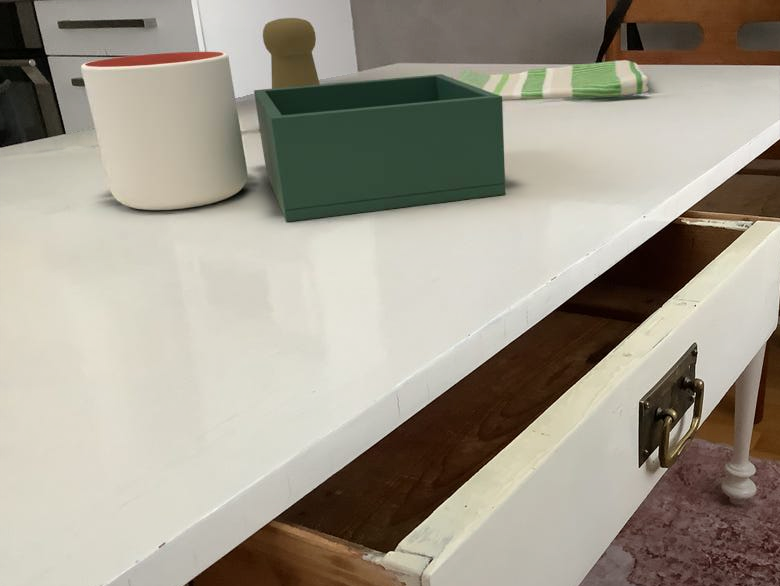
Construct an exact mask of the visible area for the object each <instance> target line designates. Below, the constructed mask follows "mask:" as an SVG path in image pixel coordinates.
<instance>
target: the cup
mask: <svg viewBox="0 0 780 586" xmlns="http://www.w3.org/2000/svg"><path fill="white" fill-rule="evenodd" d="M80 70H81V75H82V79H83V82H84V88H85V92H86V95H87V100H88V105H89V109H90V113H91V116H92V121H93V126H94V129H95V133H96V138H97V143H98V146H99V150H100V155H101V159H102V163H103V168H104V173H105V176H106V181H107V185H108V189H109V191H110V193H111V195H112V196H113V197H114V199H115V200H116V201H118V202H119V203H120V204H121V205H122V204H123V205H124V206H126V207H129V208H133V209H136V210H137V209H138V210H144V211H147V210H148V211H168V210H169V211H171V210H173V211H174V210H182V209H191V208H196V207H201V206H205V205H210V204H213V203H217V202H220V201H224V200H227V199H229V198H231V197H233V196H235V195H236V194H237V193H239V192H240V191H241V190H242V189H243V188H244V186H245V185H246V183H247V180H248V166H247V161H246V155H245V154H246V153H245V149H244V141H243V137H242V131H241V130H242V129H241V124H240V119H239V113H238V105H237V101H236V95H235V93H236V92H235V87H234V82H233V75H232V70H231V64H230V58H229V55H228V54H227V53H226V52H222V51H179V52H177V51H176V52H163V53H162V52H161V53H147V54H138V55H128V56H119V57H111V58H104V59H97V60H93V61H88V62H85V63H82V64H81V65H80Z"/></svg>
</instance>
